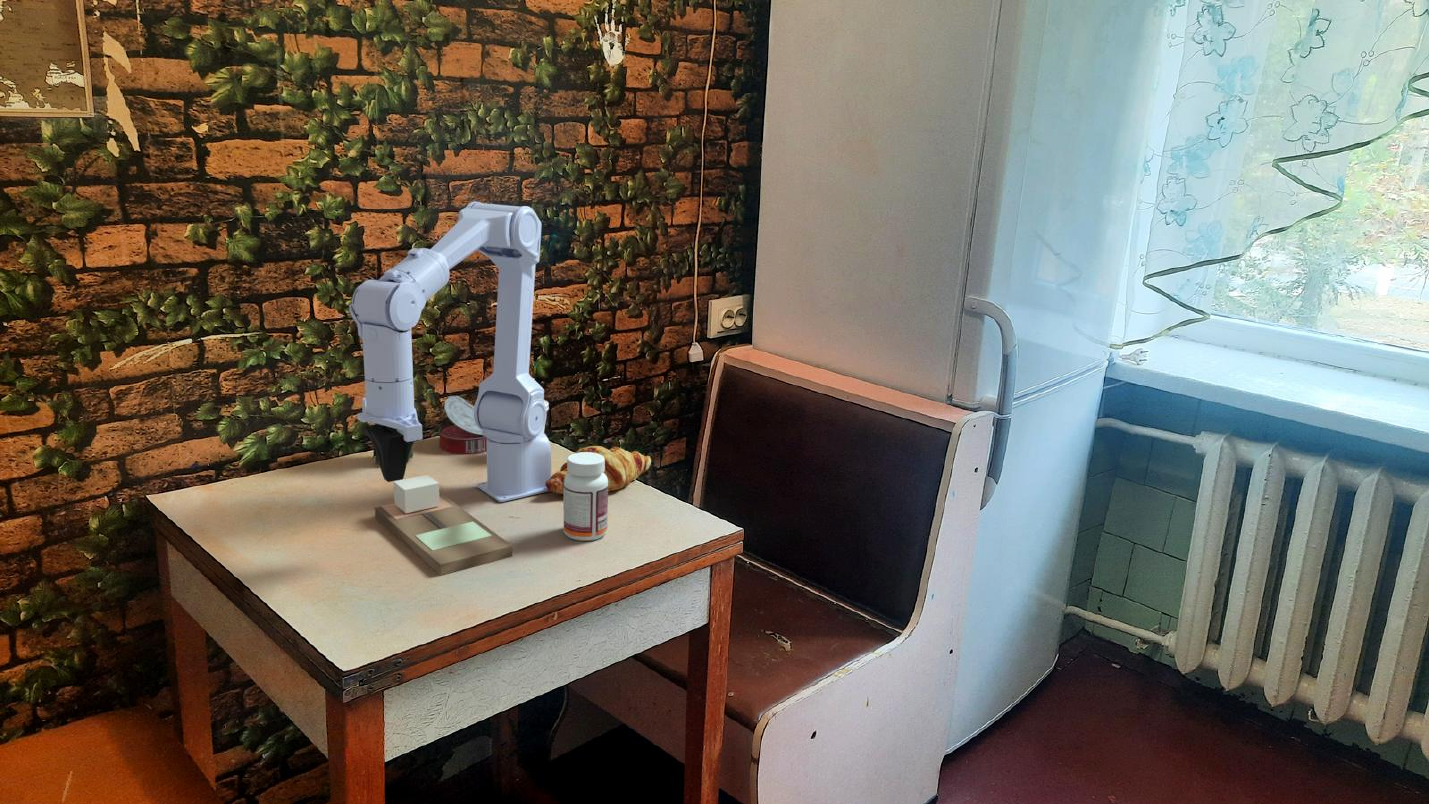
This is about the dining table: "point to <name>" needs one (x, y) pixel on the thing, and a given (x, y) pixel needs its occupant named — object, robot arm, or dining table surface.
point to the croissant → (608, 468)
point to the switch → (445, 536)
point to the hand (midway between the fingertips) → (393, 479)
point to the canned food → (461, 429)
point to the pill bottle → (585, 497)
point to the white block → (416, 493)
